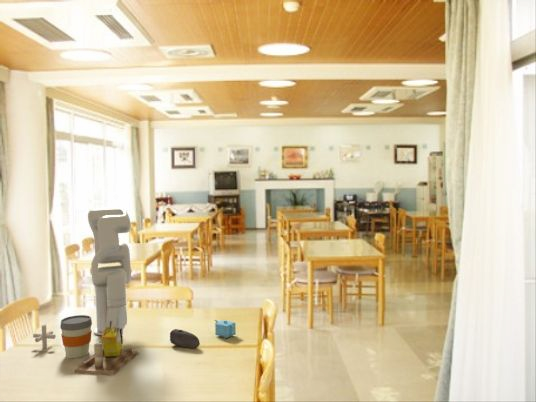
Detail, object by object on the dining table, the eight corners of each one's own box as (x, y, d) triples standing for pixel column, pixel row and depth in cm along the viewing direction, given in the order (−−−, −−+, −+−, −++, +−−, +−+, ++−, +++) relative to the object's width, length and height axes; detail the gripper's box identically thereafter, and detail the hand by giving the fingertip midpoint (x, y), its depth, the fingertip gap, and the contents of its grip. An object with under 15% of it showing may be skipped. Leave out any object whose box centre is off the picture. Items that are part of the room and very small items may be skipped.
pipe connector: (47, 352, 211) (46, 329, 211) (27, 350, 213) (26, 328, 213) (61, 344, 221) (60, 322, 220) (42, 342, 223) (41, 321, 223)
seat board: (103, 351, 211) (103, 328, 210) (138, 353, 208) (137, 330, 207) (74, 372, 189) (73, 346, 189) (113, 375, 186) (112, 349, 186)
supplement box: (108, 348, 206) (104, 327, 202) (122, 348, 206) (119, 326, 202) (104, 358, 200) (101, 336, 196) (119, 357, 201) (116, 336, 196)
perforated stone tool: (203, 348, 214) (202, 332, 214) (195, 351, 210) (195, 336, 209) (176, 342, 222) (176, 327, 221) (168, 346, 217) (168, 330, 217)
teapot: (210, 335, 230) (209, 319, 230) (219, 331, 235) (218, 316, 235) (229, 340, 223) (228, 324, 222) (238, 336, 228) (237, 320, 227)
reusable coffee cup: (99, 350, 213) (98, 316, 212) (79, 361, 201) (77, 325, 200) (75, 347, 217) (74, 314, 216) (54, 357, 205) (53, 322, 204)
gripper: (116, 297, 214) (118, 338, 215) (99, 306, 199) (101, 350, 200) (133, 297, 212) (134, 339, 213) (116, 307, 198) (118, 351, 199)
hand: (118, 344), depth 207 cm, fingers closed
